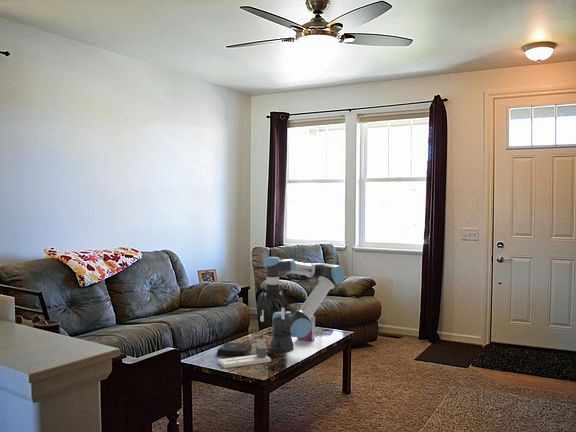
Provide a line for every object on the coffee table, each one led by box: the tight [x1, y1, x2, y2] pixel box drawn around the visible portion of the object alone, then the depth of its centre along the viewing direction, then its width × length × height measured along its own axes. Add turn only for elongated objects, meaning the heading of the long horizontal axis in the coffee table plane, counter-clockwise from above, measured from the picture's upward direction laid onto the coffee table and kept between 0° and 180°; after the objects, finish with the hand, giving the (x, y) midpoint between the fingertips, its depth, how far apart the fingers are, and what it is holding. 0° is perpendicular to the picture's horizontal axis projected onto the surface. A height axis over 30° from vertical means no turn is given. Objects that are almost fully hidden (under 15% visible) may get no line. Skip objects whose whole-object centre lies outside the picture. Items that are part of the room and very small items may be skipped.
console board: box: [218, 354, 272, 369], centre depth 291 cm, size 28×10×2 cm, turn 118°
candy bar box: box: [296, 315, 316, 342], centre depth 344 cm, size 11×5×16 cm, turn 63°
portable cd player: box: [216, 342, 252, 358], centre depth 311 cm, size 16×17×4 cm
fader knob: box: [255, 345, 267, 357], centre depth 296 cm, size 4×5×5 cm
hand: (272, 320), depth 299 cm, fingers open, 13 cm apart
